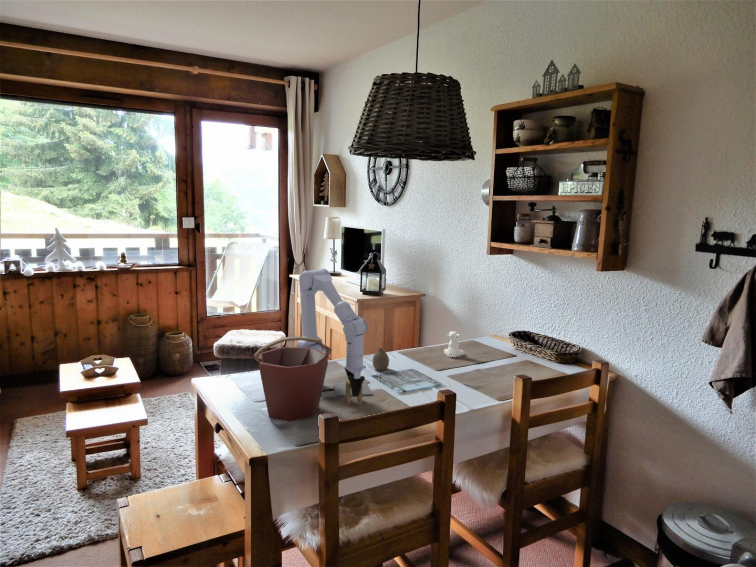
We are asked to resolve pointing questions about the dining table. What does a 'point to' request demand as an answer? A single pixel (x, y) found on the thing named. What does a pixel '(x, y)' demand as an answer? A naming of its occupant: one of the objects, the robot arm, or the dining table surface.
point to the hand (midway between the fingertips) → (353, 391)
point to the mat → (341, 391)
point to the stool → (348, 392)
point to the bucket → (292, 378)
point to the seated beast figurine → (453, 345)
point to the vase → (380, 360)
